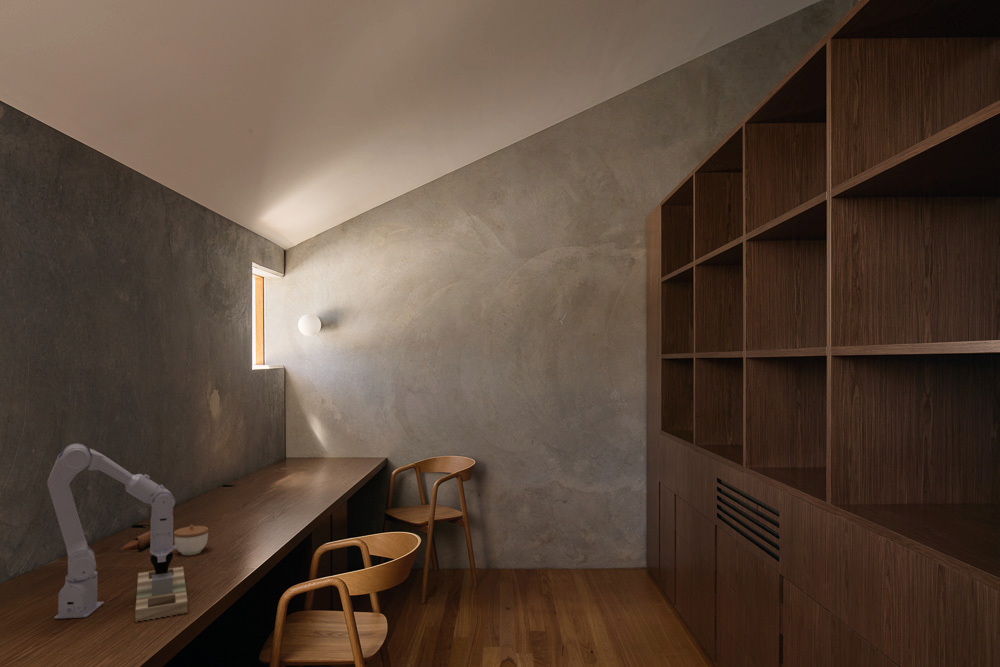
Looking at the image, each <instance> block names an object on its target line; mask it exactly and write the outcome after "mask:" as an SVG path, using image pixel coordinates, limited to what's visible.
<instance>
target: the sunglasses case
mask: <svg viewBox="0 0 1000 667" xmlns="http://www.w3.org/2000/svg"><path fill="white" fill-rule="evenodd" d="M150 537H151V530H149V531H147V532H144V533H143V534H141V535H138V536H136V537H134V538H133V540H131V541H129V542H127V543H126V544H124V545H123V546H122V547H120V548H119V549H121V550H140V551H143V550H144V549H146V548H147V547H148V546H150ZM142 549H143V550H142Z"/></svg>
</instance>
